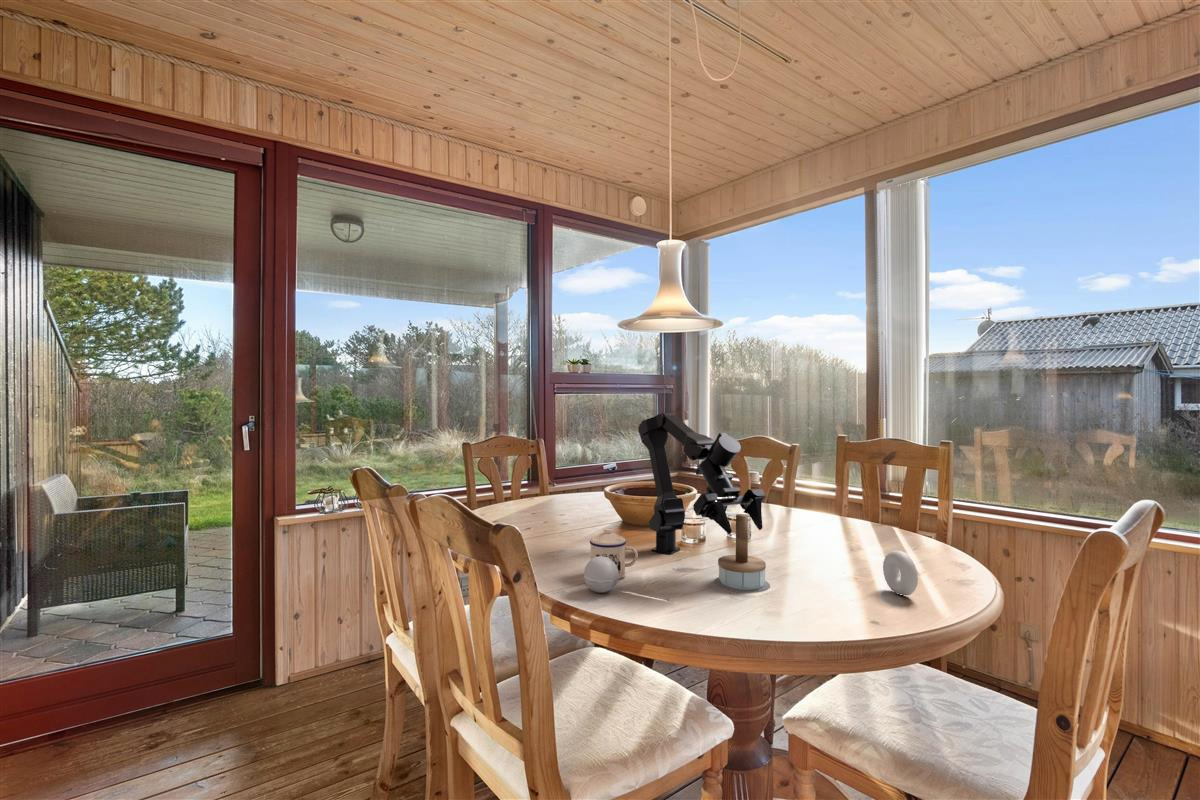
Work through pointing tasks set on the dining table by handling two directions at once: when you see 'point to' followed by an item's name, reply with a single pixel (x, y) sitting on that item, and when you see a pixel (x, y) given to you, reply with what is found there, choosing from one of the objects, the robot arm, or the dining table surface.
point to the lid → (741, 551)
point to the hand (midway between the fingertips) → (746, 531)
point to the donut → (907, 569)
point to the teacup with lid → (612, 549)
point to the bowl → (742, 579)
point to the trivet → (764, 588)
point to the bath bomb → (601, 574)
